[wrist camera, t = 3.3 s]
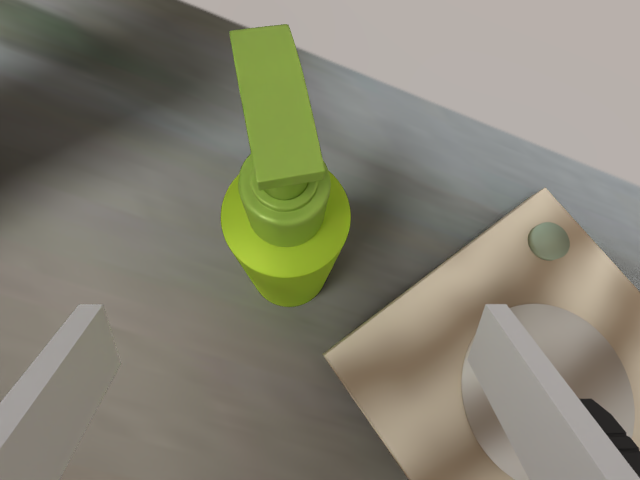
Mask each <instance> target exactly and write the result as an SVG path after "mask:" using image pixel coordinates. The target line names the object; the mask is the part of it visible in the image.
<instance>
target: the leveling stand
mask: <svg viewBox="0 0 640 480" xmlns="http://www.w3.org/2000/svg"><path fill="white" fill-rule="evenodd" d="M485 304H507V306H508V307H509V308H510V310H511V311H512V312H513V314H514V315H515V316H516V317H517V319H518V320H519V321H520V323H521V324H522V325H523V327H524V328H525V329H526V331H527V332H528V333H529V334H530V336H531V337H532V338H533V340H534V341H535V342H536V344H537V345H538V346H539V347H540V349H541V350H542V351H543V353H544V354H545V355H546V357H547V358H548V359H549V361H550V362H551V363H552V364H553V366H554V367H555V368H556V370H557V371H558V372H559V374H560V375H561V376H562V377H563V379H564V380H565V381H566V383H567V384H568V385H569V387H570V388H571V389H572V391H573V392H574V393H575V394H576V396H577V397H578V398H579V399H590V398H592V399H593V400H594V401H595V402H597V403H598V404H599V405H600V406H602V407H603V408H604V409H605V410H607V411H608V412H609V413H610V414H611V415H612V416H613V417H614V418H615V419H616V421H617V422H618V423H619V424H620V425H621V427H622V428H623V429H624V430H625V432H626V435H627V436H628V437H630V438H631V439H632V440H633V441H634V443H635V444H636V445H637V446H638V447H639V451H640V292H639V291H638V290H637V288H636V287H635V286H634V285H633V284H632V283H631V282H630V281H629V280H628V279H627V277H626V276H625V275H624V274H623V273H622V272H621V271H620V270H619V269H618V267H617V266H616V265H615V264H614V263H613V262H612V261H611V260H610V259H609V257H608V256H607V255H606V254H605V253H604V252H603V251H602V250H601V249H600V248H599V246H598V245H597V244H596V243H595V242H594V241H593V240H592V239H591V238H590V236H589V235H588V234H587V233H586V232H585V231H584V230H583V229H582V228H581V226H580V225H579V224H578V223H577V222H576V221H575V220H574V219H573V218H572V217H571V215H570V214H569V213H568V212H567V211H566V210H565V209H564V208H563V207H562V205H561V204H560V203H559V202H558V201H557V200H556V199H555V198H554V197H553V195H552V194H551V193H550V192H549V191H548V190H547V189H546V188H544V189H542V190H540V191H539V192H537V193H536V194H534V195H532V196H531V197H529V198H528V199H526V200H525V201H524V202H522V203H521V204H520V205H519V206H517V207H516V208H515V209H513V210H512V211H511V212H509V213H508V214H507V215H505V216H504V217H503V218H501V219H500V220H499V221H497V222H496V223H495V224H493V225H492V226H491V227H490V228H488V229H487V230H486V231H484V232H483V233H482V234H480V235H479V236H478V237H476V238H475V239H474V240H472V241H471V242H470V243H468V244H467V245H466V246H464V247H463V248H462V249H461V250H459V251H458V252H457V253H455V254H454V255H453V256H451V257H450V258H449V259H447V260H446V261H445V262H443V263H442V264H441V265H439V266H438V267H437V268H435V269H434V270H433V271H432V272H430V273H429V274H428V275H426V276H425V277H424V278H422V279H421V280H420V281H418V282H417V283H416V284H414V285H413V286H412V287H410V288H409V289H408V290H406V291H405V292H404V293H403V294H401V295H400V296H399V297H397V298H396V299H395V300H393V301H392V302H391V303H389V304H388V305H387V306H385V307H384V308H383V309H381V310H380V311H379V312H377V313H376V314H375V315H374V316H372V317H371V318H370V319H368V320H367V321H366V322H364V323H363V324H362V325H360V326H359V327H358V328H356V329H355V330H354V331H352V332H351V333H350V334H348V335H347V336H346V337H345V338H343V339H342V340H341V341H339V342H338V343H337V344H335V345H334V346H333V347H331V348H330V349H329V350H327V351H326V352H325V353H323V356H324V357H325V359H326V360H327V362H328V363H329V365H330V366H331V367H332V369H333V370H334V372H335V373H336V375H337V376H338V378H339V379H340V381H341V382H342V383H343V385H344V386H345V388H346V389H347V391H348V392H349V394H350V395H351V396H352V398H353V399H354V401H355V402H356V404H357V405H358V407H359V408H360V410H361V411H362V412H363V414H364V415H365V417H366V418H367V420H368V421H369V423H370V424H371V425H372V427H373V428H374V430H375V431H376V433H377V434H378V436H379V437H380V438H381V440H382V441H383V443H384V444H385V446H386V447H387V449H388V450H389V452H390V453H391V454H392V456H393V457H394V459H395V460H396V462H397V463H398V465H399V466H400V467H401V469H402V470H403V472H404V473H405V475H406V476H407V478H408V479H409V480H529V478H528V476H527V474H526V472H525V470H524V468H523V466H522V464H521V462H520V460H519V458H518V456H517V455H516V453H515V451H514V449H513V447H512V445H511V443H510V441H509V439H508V437H507V435H506V433H505V431H504V429H503V428H502V426H501V424H500V422H499V420H498V418H497V416H496V414H495V412H494V410H493V408H492V406H491V404H490V402H489V401H488V399H487V397H486V395H485V393H484V391H483V389H482V387H481V385H480V383H479V381H478V379H477V377H476V375H475V374H474V372H473V370H472V368H471V366H470V364H469V362H468V360H467V359H468V356H469V353H470V350H471V347H472V344H473V341H474V338H475V335H476V332H477V328H478V325H479V322H480V319H481V316H482V313H483V310H484V307H485Z"/></svg>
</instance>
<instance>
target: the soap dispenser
mask: <svg viewBox="0 0 640 480" xmlns="http://www.w3.org/2000/svg"><path fill="white" fill-rule="evenodd" d="M230 40H231V46H232V51H233V57H234V63H235V69H236V74H237V80H238V85H239V91H240V96H241V101H242V107H243V112H244V117H245V123H246V128H247V134H248V139H249V144H250V150H251V154H250V155H249V156H248V157H247V159H246V160H245V162H244V163H243V165H242V167H241V170H240V173H239V175H238V176H237V177H236V178H235V179H234V181H233V182H232V183H231V185H230V186H229V188H228V190H227V192H226V194H225V197H224V199H223V203H222V208H221V226H222V231H223V235H224V237H225V240H226V242H227V244H228V246H229V248H230V249H231V251H232V252H233V254H234V255H235V257H236V258H237V260H238V261H239V263H240V264H241V266H242V267H243V269H244V270H245V272H246V273H247V275H248V276H249V278H250V279H251V281H252V282H253V284H254V285H255V287H256V288H257V290H258V291H259V292H260V294H261V295H262V296H263V297H264V298H265V299H267V300H268V301H270V302H271V303H273V304H276V305H279V306H284V307H294V306H299V305H302V304H305V303H307V302H308V301H310V300H312V299H313V298H314V297H315V296H316V295H317V294H318V293H319V292H320V290H321V289H322V287H323V285H324V283H325V281H326V279H327V277H328V275H329V273H330V271H331V269H332V267H333V265H334V263H335V261H336V259H337V257H338V255H339V253H340V251H341V249H342V247H343V245H344V243H345V241H346V239H347V236H348V233H349V229H350V222H351V212H350V205H349V201H348V198H347V195H346V193H345V191H344V189H343V187H342V186H341V184H340V183H339V181H338V180H337V179H336V178H335V176H334V175H333V174H332V173H330V172H329V171H328V169H327V166H326V164H325V163H324V161H323V159H322V154H321V150H320V145H319V141H318V136H317V131H316V127H315V122H314V118H313V114H312V109H311V105H310V100H309V96H308V92H307V88H306V84H305V79H304V75H303V72H302V68H301V64H300V60H299V57H298V53H297V50H296V47H295V43H294V40H293V37H292V34H291V31H290V28H289V26H288V25H287V24H283V25H275V26H265V27H257V28H248V29H241V30H233V31H230Z"/></svg>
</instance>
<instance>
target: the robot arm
mask: <svg viewBox="0 0 640 480" xmlns="http://www.w3.org/2000/svg"><path fill="white" fill-rule="evenodd" d="M467 360H468V362H469V364H470V366H471V368H472V370H473V372H474V374H475V375H476V377H477V379H478V381H479V383H480V385H481V387H482V389H483V391H484V393H485V395H486V397H487V399H488V401H489V402H490V404H491V406H492V408H493V410H494V412H495V414H496V416H497V418H498V420H499V422H500V424H501V426H502V428H503V429H504V431H505V433H506V435H507V437H508V439H509V441H510V443H511V445H512V447H513V449H514V451H515V453H516V455H517V456H518V458H519V460H520V462H521V464H522V466H523V468H524V470H525V472H526V474H527V476H528V478H529V480H640V451H639V447H638V446H637V445H636V444H635V443H634V441H633V440H632V439H631V438H630V437H628V436H627V435H626V432H625V430H624V429H623V428H622V427H621V425H620V424H619V423H618V422H617V421H616V419H615V418H614V417H613V416H612V415H611V414H610V413H609V412H608V411H607V410H605V409H604V408H603V407H602V406H600V405H599V404H598V403H597V402H595V401H594V400H593V399H592V398H590V399H579V398H578V397H577V396H576V394H575V393H574V392H573V391H572V389H571V388H570V387H569V385H568V384H567V383H566V381H565V380H564V379H563V377H562V376H561V375H560V374H559V372H558V371H557V370H556V368H555V367H554V366H553V364H552V363H551V362H550V361H549V359H548V358H547V357H546V355H545V354H544V353H543V351H542V350H541V349H540V347H539V346H538V345H537V344H536V342H535V341H534V340H533V338H532V337H531V336H530V334H529V333H528V332H527V331H526V329H525V328H524V327H523V325H522V324H521V323H520V321H519V320H518V319H517V317H516V316H515V315H514V314H513V312H512V311H511V310H510V308H509V307H508V306H507V304H485V307H484V310H483V313H482V316H481V319H480V322H479V325H478V328H477V332H476V335H475V338H474V341H473V344H472V347H471V350H470V353H469V356H468V359H467ZM120 365H121V361H120V358H119V355H118V351H117V348H116V345H115V342H114V338H113V335H112V332H111V329H110V325H109V322H108V319H107V316H106V312H105V309H104V306H103V304H79V305H78V306H77V308H76V309H75V310H74V311H73V313H72V314H71V315H70V316H69V318H68V319H67V320H66V321H65V323H64V324H63V325H62V326H61V328H60V329H59V330H58V331H57V333H56V334H55V335H54V336H53V338H52V339H51V340H50V341H49V343H48V344H47V345H46V346H45V348H44V349H43V350H42V351H41V353H40V354H39V355H38V356H37V358H36V359H35V360H34V361H33V363H32V364H31V365H30V366H29V368H28V369H27V370H26V371H25V373H24V374H23V375H22V376H21V378H20V379H19V380H18V381H17V383H16V384H15V385H14V386H13V388H12V389H11V390H10V391H9V393H8V394H7V395H6V396H5V398H4V399H3V400H2V401H1V403H0V480H60V478H61V476H62V474H63V472H64V470H65V468H66V466H67V464H68V463H69V461H70V459H71V457H72V455H73V453H74V451H75V449H76V448H77V446H78V444H79V442H80V440H81V438H82V436H83V434H84V432H85V431H86V429H87V427H88V425H89V423H90V421H91V419H92V417H93V415H94V414H95V412H96V410H97V408H98V406H99V404H100V402H101V400H102V399H103V397H104V395H105V393H106V391H107V389H108V387H109V385H110V383H111V382H112V380H113V378H114V376H115V374H116V372H117V370H118V368H119V367H120Z"/></svg>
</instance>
